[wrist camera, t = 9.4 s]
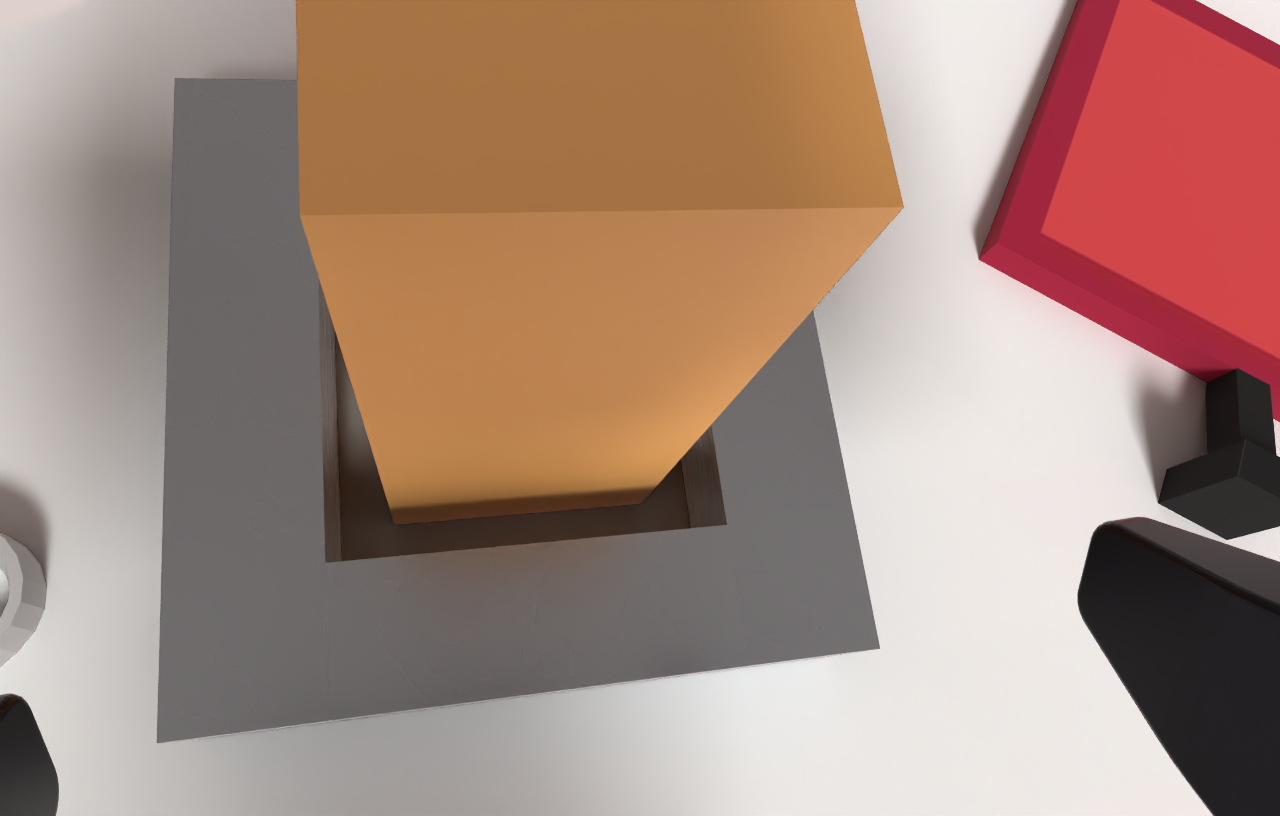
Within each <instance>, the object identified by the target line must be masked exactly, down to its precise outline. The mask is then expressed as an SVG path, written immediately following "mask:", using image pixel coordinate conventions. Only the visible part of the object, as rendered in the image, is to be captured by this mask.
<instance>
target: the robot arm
mask: <svg viewBox="0 0 1280 816" xmlns="http://www.w3.org/2000/svg"><path fill="white" fill-rule="evenodd" d="M1077 596H1078V607H1079V611H1080V614H1081V616H1082V619H1083V621H1084V622H1085V624H1086V626H1087V627H1088V629H1089V631H1090V632H1091V634H1092V635H1093V637H1094V638H1095V640H1096V642H1097V643H1098V645H1099V646H1100V648H1101V650H1102V651H1103V653H1104V654H1105V656H1106V658H1107V659H1108V661H1109V662H1110V664H1111V665H1112V667H1113V669H1114V670H1115V672H1116V673H1117V675H1118V677H1119V678H1120V680H1121V681H1122V683H1123V684H1124V686H1125V688H1126V689H1127V691H1128V692H1129V694H1130V696H1131V697H1132V699H1133V700H1134V702H1135V704H1136V705H1137V707H1138V708H1139V710H1140V711H1141V713H1142V715H1143V716H1144V718H1145V719H1146V721H1147V723H1148V724H1149V726H1150V727H1151V729H1152V731H1153V732H1154V734H1155V735H1156V737H1157V738H1158V740H1159V741H1160V743H1161V744H1162V746H1163V747H1164V749H1165V751H1166V752H1167V754H1168V755H1169V757H1170V758H1171V760H1172V761H1173V763H1174V764H1175V765H1176V767H1177V768H1178V769H1179V771H1180V772H1181V774H1182V775H1183V776H1184V778H1185V779H1186V780H1187V782H1188V783H1189V784H1190V786H1191V787H1192V789H1193V790H1194V791H1195V792H1196V794H1197V795H1198V796H1199V798H1200V799H1201V800H1202V802H1203V803H1204V804H1205V806H1206V807H1207V808H1208V809H1209V811H1210V812H1211V813H1212V815H1213V816H1280V562H1279V561H1276V560H1273V559H1269V558H1266V557H1263V556H1260V555H1257V554H1254V553H1251V552H1248V551H1245V550H1242V549H1239V548H1236V547H1233V546H1230V545H1227V544H1224V543H1221V542H1218V541H1215V540H1212V539H1209V538H1206V537H1203V536H1200V535H1197V534H1194V533H1191V532H1188V531H1185V530H1182V529H1179V528H1176V527H1173V526H1170V525H1167V524H1164V523H1161V522H1158V521H1155V520H1152V519H1149V518H1145V517H1133V518H1127V519H1120V520H1114V521H1108V522H1105V523H1103V524H1101V525H1099V526H1098V527H1097V529H1096V530H1095V531H1094V532H1093V535H1092V537H1091V541H1090V545H1089V549H1088V553H1087V557H1086V561H1085V565H1084V569H1083V573H1082V577H1081V581H1080V585H1079V589H1078V595H1077ZM58 799H59V784H58V778H57V773H56V770H55V767H54V765H53V762H52V760H51V757H50V755H49V752H48V750H47V747H46V745H45V743H44V740H43V738H42V735H41V733H40V730H39V728H38V725H37V723H36V720H35V718H34V716H33V713H32V711H31V709H30V707H29V705H28V703H27V702H26V701H25V700H24V699H23V698H22V697H20V696H18V695H15V694H3V695H0V816H56V812H57V807H58Z"/></svg>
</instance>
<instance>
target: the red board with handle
mask: <svg viewBox="0 0 1280 816" xmlns="http://www.w3.org/2000/svg"><path fill="white" fill-rule="evenodd" d="M979 260H980V261H982V262H984V263H986V264H988V265H990V266H991V267H993V268H995V269H997V270H999V271H1001V272H1003V273H1004V274H1006V275H1008V276H1010V277H1012V278H1014V279H1016V280H1017V281H1019V282H1021V283H1023V284H1025V285H1027V286H1029V287H1030V288H1032V289H1034V290H1036V291H1038V292H1040V293H1042V294H1043V295H1045V296H1047V297H1049V298H1051V299H1053V300H1055V301H1056V302H1058V303H1060V304H1062V305H1064V306H1066V307H1068V308H1069V309H1071V310H1073V311H1075V312H1077V313H1079V314H1081V315H1082V316H1084V317H1086V318H1088V319H1090V320H1092V321H1093V322H1095V323H1097V324H1099V325H1101V326H1103V327H1105V328H1106V329H1108V330H1110V331H1112V332H1114V333H1116V334H1118V335H1119V336H1121V337H1123V338H1125V339H1127V340H1129V341H1131V342H1132V343H1134V344H1136V345H1138V346H1140V347H1142V348H1144V349H1145V350H1147V351H1149V352H1151V353H1153V354H1155V355H1157V356H1158V357H1160V358H1162V359H1164V360H1166V361H1168V362H1170V363H1171V364H1173V365H1175V366H1177V367H1179V368H1181V369H1183V370H1184V371H1186V372H1188V373H1190V374H1192V375H1194V376H1195V377H1197V378H1199V379H1201V380H1203V381H1205V382H1207V386H1206V409H1207V448H1208V454H1206V455H1203V456H1200V457H1198V458H1195V459H1192V460H1190V461H1187V462H1185V463H1182V464H1179V465H1177V466H1174V467H1172V468H1169V469H1167V470H1166V474H1165V478H1164V482H1163V486H1162V489H1161V493H1160V497H1159V501H1158V503H1159V504H1161V505H1162V506H1164V507H1166V508H1168V509H1170V510H1172V511H1174V512H1175V513H1177V514H1179V515H1181V516H1183V517H1185V518H1187V519H1189V520H1190V521H1192V522H1194V523H1196V524H1198V525H1200V526H1202V527H1204V528H1205V529H1207V530H1209V531H1211V532H1213V533H1215V534H1217V535H1218V536H1220V537H1222V538H1224V539H1226V540H1229V539H1233V538H1237V537H1240V536H1244V535H1248V534H1252V533H1256V532H1260V531H1263V530H1267V529H1271V528H1275V527H1279V526H1280V457H1278V456H1277V455H1276V446H1275V434H1274V423H1273V419H1275V420H1277V421H1279V422H1280V45H1279V44H1277V43H1275V42H1273V41H1271V40H1269V39H1267V38H1266V37H1264V36H1262V35H1260V34H1258V33H1256V32H1254V31H1252V30H1250V29H1249V28H1247V27H1245V26H1243V25H1241V24H1239V23H1237V22H1235V21H1234V20H1232V19H1230V18H1228V17H1226V16H1224V15H1222V14H1220V13H1219V12H1217V11H1215V10H1213V9H1211V8H1209V7H1207V6H1205V5H1204V4H1202V3H1200V2H1198V1H1196V0H1078V1H1077V3H1076V6H1075V9H1074V11H1073V14H1072V16H1071V19H1070V22H1069V24H1068V27H1067V30H1066V32H1065V35H1064V37H1063V40H1062V43H1061V45H1060V48H1059V51H1058V53H1057V56H1056V58H1055V61H1054V64H1053V66H1052V69H1051V72H1050V74H1049V77H1048V79H1047V82H1046V85H1045V87H1044V90H1043V93H1042V95H1041V98H1040V100H1039V103H1038V106H1037V108H1036V111H1035V113H1034V116H1033V119H1032V121H1031V124H1030V127H1029V129H1028V132H1027V134H1026V137H1025V140H1024V142H1023V145H1022V148H1021V150H1020V153H1019V155H1018V158H1017V161H1016V163H1015V166H1014V169H1013V171H1012V174H1011V176H1010V179H1009V182H1008V184H1007V187H1006V190H1005V192H1004V195H1003V197H1002V200H1001V203H1000V205H999V208H998V211H997V213H996V216H995V218H994V221H993V224H992V226H991V229H990V232H989V234H988V237H987V239H986V242H985V245H984V247H983V250H982V253H981V255H980V258H979Z"/></svg>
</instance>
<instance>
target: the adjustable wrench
mask: <svg viewBox="0 0 1280 816" xmlns="http://www.w3.org/2000/svg"><path fill="white" fill-rule="evenodd" d="M0 568H1V570H2V571H3V572H4V574H5V575H6V576H7V580H8V584H9V597H8V602H7V604H6V607H5V609H4V611H3V613H2V615H1V617H0V667H1V666H2V665H3V664H5V663H6V662H7V661H8V660H9V659H10V658H11V657H12V656H14V655H15V654H16V653H17V652H18V651H19V650H20V649H21V647H22V646H23V645H24V644H25V643H26V641H27V640H28V639H29V638H30V637H31V635H32V634H33V633H34V632H35V630H36V628H37V625H38V623H39V621H40V618H41V616H42V614H43V611H44V609H45V600H46V589H47V585H46V581H45V578H44V574H43V571H42V567H41V564H40V563H39V562H38V561H37V559H36V558H35V557H34V555H33V554H32V553H31V551H30V550H29V549H28V548H27V547H25V546H24V545H22V544H21V543H19V542H17V541H16V540H14V539H13V538H11V537H9V536H7V535H5V534H2V533H0Z"/></svg>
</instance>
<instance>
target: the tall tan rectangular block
mask: <svg viewBox="0 0 1280 816" xmlns="http://www.w3.org/2000/svg"><path fill="white" fill-rule="evenodd" d="M296 27H297V84H298V140H299V197H300V218H301V221H302V224H303V227H304V231H305V234H306V237H307V240H308V244H309V247H310V250H311V254H312V257H313V260H314V263H315V267H316V270H317V273H318V276H319V280H320V283H321V286H322V289H323V293H324V296H325V299H326V302H327V306H328V309H329V312H330V315H331V319H332V322H333V325H334V329H335V332H336V335H337V338H338V342H339V345H340V348H341V351H342V355H343V358H344V361H345V364H346V368H347V371H348V374H349V377H350V381H351V384H352V387H353V390H354V394H355V397H356V400H357V404H358V407H359V410H360V413H361V417H362V420H363V423H364V426H365V430H366V433H367V436H368V439H369V443H370V446H371V449H372V452H373V456H374V459H375V462H376V465H377V469H378V472H379V475H380V479H381V482H382V485H383V488H384V492H385V495H386V498H387V501H388V505H389V508H390V511H391V514H392V518H393V521H394V524H395V525H398V524H410V523H422V522H433V521H445V520H457V519H468V518H480V517H492V516H503V515H515V514H527V513H538V512H550V511H562V510H573V509H585V508H597V507H608V506H620V505H632V504H641V503H642V502H643V501H644V500H645V499H646V498H647V496H648V495H649V494H650V493H651V492H652V491H653V490H654V488H655V487H656V486H657V485H658V484H659V483H660V482H661V481H662V479H663V478H664V477H665V476H666V475H667V474H668V473H669V472H670V470H671V469H672V468H673V467H674V466H675V465H676V464H677V463H678V461H679V460H680V459H681V458H682V457H683V456H684V455H685V454H686V452H687V451H688V450H689V449H690V448H691V447H692V446H693V445H694V443H695V442H696V441H697V440H698V439H699V438H700V437H701V435H702V434H703V433H704V432H705V431H706V430H707V429H708V428H709V426H710V425H711V424H712V423H713V422H714V421H715V420H716V419H717V417H718V416H719V415H720V414H721V413H722V412H723V411H724V410H725V408H726V407H727V406H728V405H729V404H730V403H731V402H732V401H733V399H734V398H735V397H736V396H737V395H738V394H739V393H740V392H741V390H742V389H743V388H744V387H745V386H746V385H747V384H748V382H749V381H750V380H751V379H752V378H753V377H754V376H755V375H756V373H757V372H758V371H759V370H760V369H761V368H762V367H763V366H764V364H765V363H766V362H767V361H768V360H769V359H770V358H771V357H772V355H773V354H774V353H775V352H776V351H777V350H778V349H779V348H780V346H781V345H782V344H783V343H784V342H785V341H786V340H787V339H788V337H789V336H790V335H791V334H792V333H793V332H794V331H795V329H796V328H797V327H798V326H799V325H800V324H801V323H802V322H803V320H804V319H805V318H806V317H807V316H808V315H809V314H810V313H811V311H812V310H813V309H814V308H815V307H816V306H817V305H818V304H819V302H820V301H821V300H822V299H823V298H824V297H825V296H826V295H827V293H828V292H829V291H830V290H831V289H832V288H833V287H834V286H835V284H836V283H837V282H838V281H839V280H840V279H841V278H842V276H843V275H844V274H845V273H846V272H847V271H848V270H849V269H850V267H851V266H852V265H853V264H854V263H855V262H856V261H857V260H858V258H859V257H860V256H861V255H862V254H863V253H864V252H865V251H866V249H867V248H868V247H869V246H870V245H871V244H872V243H873V242H874V240H875V239H876V238H877V237H878V236H879V235H880V234H881V233H882V231H883V230H884V229H885V228H886V227H887V226H888V225H889V223H890V222H891V221H892V220H893V219H894V218H895V217H896V216H897V214H898V213H899V212H900V211H901V210H902V209H903V208H904V206H903V202H902V198H901V193H900V189H899V185H898V181H897V177H896V172H895V168H894V164H893V160H892V156H891V151H890V147H889V143H888V139H887V134H886V130H885V126H884V122H883V118H882V113H881V109H880V105H879V101H878V97H877V92H876V88H875V84H874V80H873V76H872V71H871V67H870V63H869V59H868V54H867V50H866V46H865V42H864V38H863V33H862V29H861V25H860V21H859V17H858V12H857V8H856V4H855V0H296Z"/></svg>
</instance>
